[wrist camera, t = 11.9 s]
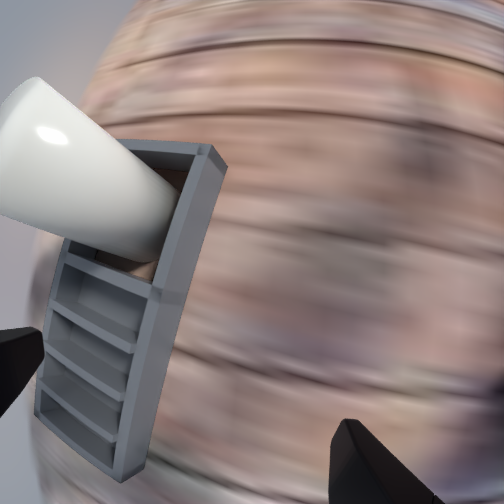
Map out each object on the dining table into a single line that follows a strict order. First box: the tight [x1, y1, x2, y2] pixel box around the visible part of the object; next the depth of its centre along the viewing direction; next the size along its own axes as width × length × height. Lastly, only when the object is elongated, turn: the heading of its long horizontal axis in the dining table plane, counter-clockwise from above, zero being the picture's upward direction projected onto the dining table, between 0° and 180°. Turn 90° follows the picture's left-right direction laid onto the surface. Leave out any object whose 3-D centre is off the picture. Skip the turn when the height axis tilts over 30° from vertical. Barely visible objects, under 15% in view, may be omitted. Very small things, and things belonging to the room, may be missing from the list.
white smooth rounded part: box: [0, 77, 181, 262], centre depth 15 cm, size 6×6×13 cm
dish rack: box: [34, 139, 228, 484], centre depth 19 cm, size 23×10×4 cm, turn 163°
